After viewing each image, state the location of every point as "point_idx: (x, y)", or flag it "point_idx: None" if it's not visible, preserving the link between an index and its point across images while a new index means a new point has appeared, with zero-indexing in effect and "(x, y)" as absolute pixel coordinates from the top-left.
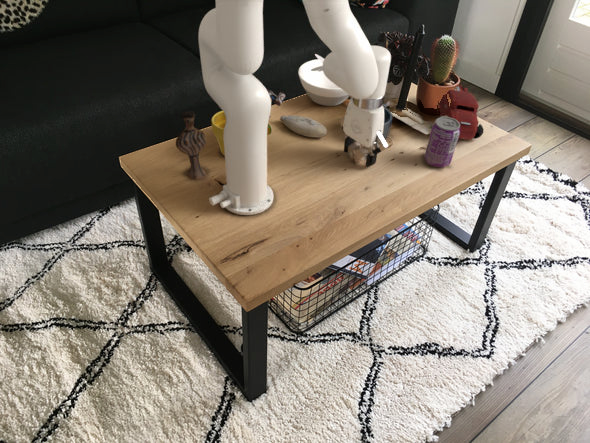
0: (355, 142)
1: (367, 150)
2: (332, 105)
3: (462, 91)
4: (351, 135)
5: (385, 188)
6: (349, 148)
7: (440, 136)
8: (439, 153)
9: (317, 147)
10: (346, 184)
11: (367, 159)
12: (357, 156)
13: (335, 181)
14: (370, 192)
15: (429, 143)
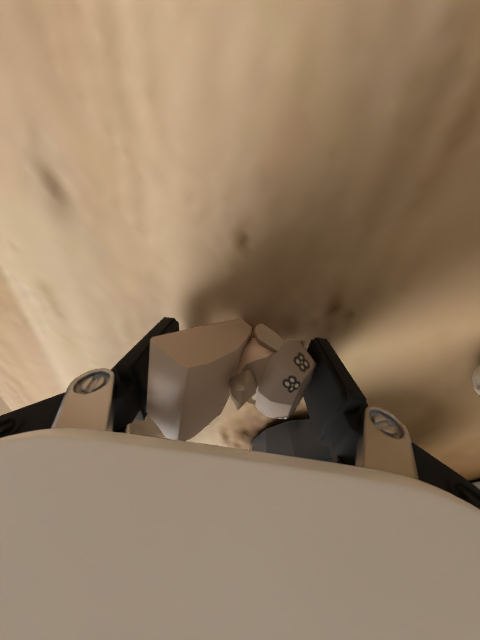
0: (285, 410)
1: (153, 394)
2: (475, 484)
3: None
4: (325, 529)
5: (33, 267)
6: (295, 355)
7: None
8: None
9: (474, 288)
10: (131, 108)
11: (146, 341)
12: (219, 333)
13: (198, 55)
14: (15, 177)
15: None
